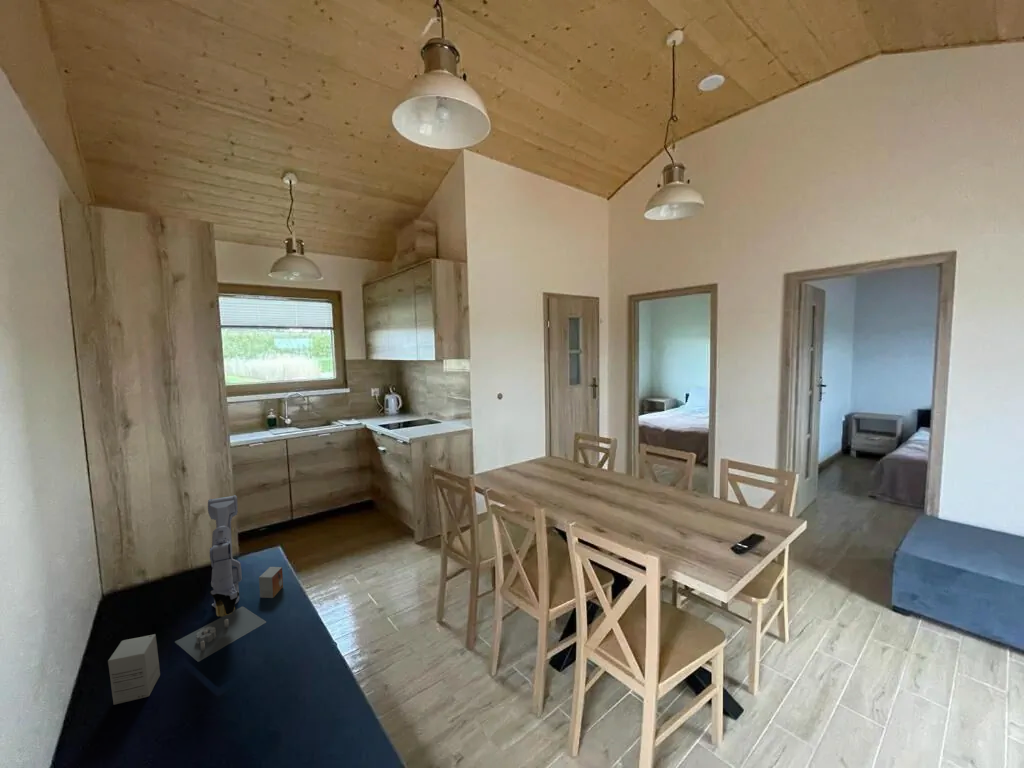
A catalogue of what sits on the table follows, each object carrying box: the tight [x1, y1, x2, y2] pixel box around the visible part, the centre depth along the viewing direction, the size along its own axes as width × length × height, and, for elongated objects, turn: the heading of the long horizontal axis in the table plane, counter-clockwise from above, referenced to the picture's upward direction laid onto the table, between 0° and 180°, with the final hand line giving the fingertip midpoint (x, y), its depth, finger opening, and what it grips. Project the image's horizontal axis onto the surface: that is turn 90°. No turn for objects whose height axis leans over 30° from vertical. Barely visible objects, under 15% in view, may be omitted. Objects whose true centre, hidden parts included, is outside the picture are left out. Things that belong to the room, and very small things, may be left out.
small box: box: [258, 566, 284, 599], centre depth 180 cm, size 8×6×10 cm
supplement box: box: [107, 633, 161, 705], centre depth 133 cm, size 9×9×15 cm
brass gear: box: [215, 600, 236, 618], centre depth 158 cm, size 6×6×4 cm
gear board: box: [174, 605, 267, 663], centre depth 157 cm, size 17×23×4 cm
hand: (225, 609), depth 159 cm, fingers closed on brass gear, 6 cm apart
